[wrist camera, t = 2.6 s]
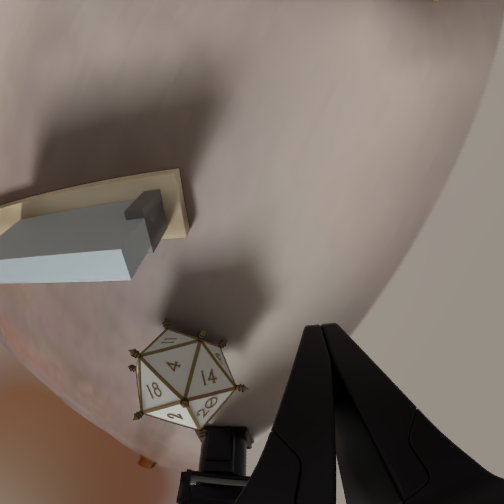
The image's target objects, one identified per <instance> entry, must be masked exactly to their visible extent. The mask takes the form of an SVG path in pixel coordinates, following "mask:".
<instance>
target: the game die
mask: <svg viewBox="0 0 504 504" xmlns="http://www.w3.org/2000/svg"><path fill="white" fill-rule="evenodd" d="M162 324H163V325H164V326H163V327H165V330H164V331H163V332H162V333H161V334H160V335H159V336H158V337H157V338H156V339H155V340H154V341H153V342H152V343H151V344H150V345H149V346H148V347H147V348H146V349H145V350H143V351H142V352H141V353H139V351H137V350H136V349H134V350H129V352H130V354H131V356H133V357H135V358H138V360H137V365H136V366H134V365H130V366H128V368H129V369H130V371H133V372H134V371H136V377H137V386H138V394H139V402H140V409H141V411H139V412H137V413H136V414H135V413H134V414H135V415H134V419H133V420H137V419H140V418H142V415H144V414H145V415H148V416H151V417H154V418H157V419H160V420H163V421H167V422H170V423H173V424H177V425H180V426H184V427H187V428H191V429H195V430H198V434H199V437H200V438H201V439H202V440H204V441H205V437H206V435H205V432H204V431H203V428H204V427H205V426H206V424H207V423H208V422H209V421H210V420H211V419H212V417H213V416H214V415H215V414H216V413H217V412H218V410H219V409H220V408H221V407H222V406H223V404H224V403H225V402H226V401H227V400H228V398H229V397H230V396H231V395H232V394H233V392H234V391H235V390H238V391H242V392H244V391H245V390H248V388H247V387H246V386H244V384H243V385H241V384H240V385H236V384H235V381H234V379H233V377H232V374H231V372H230V370H229V367H228V365H227V362H226V360H225V357H224V355H223V352H222V350H221V348H224V346H226V342H227V340H222V341H221V342H220V343H219V345H216V344H213V343H211V342H208V341H206V340H204V339H205V338H206V336H207V334H206V332H205V330H203V331H201V332H199V334H198V338H197V337H194V336H191V335H188V334H185V333H182V332H179V331H176V330H173V329H170V328H169V326H170V324H169V321H167V320H166V319H164V322H163V323H162Z"/></svg>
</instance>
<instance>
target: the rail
mask: <svg viewBox="0 0 504 504" xmlns="http://www.w3.org/2000/svg"><path fill="white" fill-rule="evenodd" d="M157 189H160V192H161V197H162V202H163V207H164V212H165V216H166V221H167V226H168V228H167V230H166V231H165V233H164V235H163V237H162V238H161V239H170V238H182V237H187V235H188V233H189V230H190V228H189V223H188V218H187V212H186V207H185V201H184V195H183V190H182V184H181V178H180V172H179V168H177V169H170V170H163V171H156V172H149V173H143V174H137V175H131V176H125V177H119V178H114V179H108V180H103V181H98V182H93V183H88V184H83V185H78V186H74V187H69V188H65V189H60V190H56V191H52V192H48V193H44V194H40V195H36V196H32V197H28V198H24V199H21V200H17V201H14V202H10V203H7V204H3V205H0V235H2V234H3V233H4V232H5V231H6V230H8V229H9V228H10V227H11V226H13V225H14V224H15V223H16V222H18V221H19V220H22V219H27V218H31V217H36V216H41V215H46V214H52V213H57V212H62V211H68V210H73V209H79V208H85V207H91V206H97V205H104V204H110V203H117V202H124V201H131V200H136V199H137V198H138V197H139V196H140V195H141V194H142V193H143V192H144V191H149V190H157Z"/></svg>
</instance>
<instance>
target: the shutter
mask: <svg viewBox="0 0 504 504" xmlns="http://www.w3.org/2000/svg"><path fill="white" fill-rule="evenodd" d="M167 228H168V226H167V221H166V216H165V212H164V207H163V202H162V197H161V192H160V189H157V190H149V191H144V192H143V193H142V194H141V195H140V196H139V197H138V198H137V199H136V200H131V201H124V202H117V203H110V204H104V205H97V206H91V207H85V208H79V209H73V210H68V211H62V212H57V213H52V214H46V215H41V216H36V217H31V218H27V219H22V220H19V221H18V222H16V223H15V224H14V225H13V226H11V227H10V228H9V229H8V230H6V231H5V232H4V233H3V234H2V235H0V283H50V282H89V281H119V280H132V278H133V276H134V274H135V272H136V271H137V269H138V267H139V265H140V264H141V262H142V260H143V258H144V257H145V255H146V254H147V253H154V251H155V249H156V247H157V245H158V244H159V242H160V240H161V238H162V237H163V235H164V233H165V231H166V230H167Z"/></svg>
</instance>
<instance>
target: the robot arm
mask: <svg viewBox="0 0 504 504" xmlns="http://www.w3.org/2000/svg"><path fill="white" fill-rule="evenodd" d="M203 431H204V432H205V435H206V437H205V441H204V440H202V439H201V438H200V437H199V434H198V430H195V432H196V434H197V435H198V437H199V439H200V440H201V442H202V445H201V454H200V463H199V471H192V470H190V469H187V472H181V479H180V486H179V491H178V496H177V504H336V456H337V461H338V465H339V470H340V475H341V479H342V484H343V489H344V494H345V499H346V503H347V504H504V479H503V478H500V477H498V476H495V475H493V474H492V473H490V472H489V471H487V470H486V469H484V468H483V467H482V466H481V465H480V464H478V463H477V462H476V461H475V460H473V459H472V458H471V457H470V456H468V455H467V454H466V453H465V452H464V451H462V450H461V449H460V448H459V447H458V446H456V445H455V444H454V443H453V442H452V441H451V440H449V439H448V438H447V437H446V436H445V435H444V434H443V433H441V432H440V431H439V430H438V429H437V428H436V427H435V426H434V425H433V424H432V423H431V422H430V421H429V420H428V419H427V418H426V417H425V416H424V414H422V412H421V411H420V410H419V409H416V406H415V405H414V404H413V403H412V402H411V401H410V400H409V399H408V398H407V397H406V395H405V394H403V392H402V391H401V390H400V389H399V388H398V387H397V386H396V385H395V384H394V383H393V382H392V381H391V380H390V379H389V377H388V376H387V375H386V374H385V373H384V372H383V371H382V370H381V369H380V368H379V367H378V366H377V365H376V364H375V363H374V362H373V361H372V360H371V359H370V358H369V356H368V355H367V354H366V353H365V352H364V351H363V350H362V349H361V348H360V347H359V346H358V345H357V344H356V343H355V342H354V341H353V340H352V339H351V338H350V337H349V336H348V335H347V334H346V333H345V331H344V330H343V329H342V328H341V327H340V326H339V325H338V324H336V323H329V324H322V325H321V326H320V325H307V326H305V328H304V331H303V334H302V338H301V341H300V344H299V348H298V351H297V354H296V358H295V361H294V364H293V367H292V370H291V373H290V377H289V380H288V383H287V386H286V389H285V392H284V395H283V398H282V401H281V404H280V407H279V409H278V412H277V415H276V418H275V421H274V424H273V426H272V429H271V431H272V432H270V434H269V437H268V440H267V442H266V445H265V448H264V450H263V452H262V454H261V457H260V459H259V461H258V464H257V466H256V467H255V470H254V471H253V473H252V475H251V477H250V476H246V450H247V449H251V448H252V444H251V440H250V436H249V432H248V429H247V428H244V427H239V428H229V427H204V428H203ZM191 483H195V484H196V485H194V484H193V485H191Z"/></svg>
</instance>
